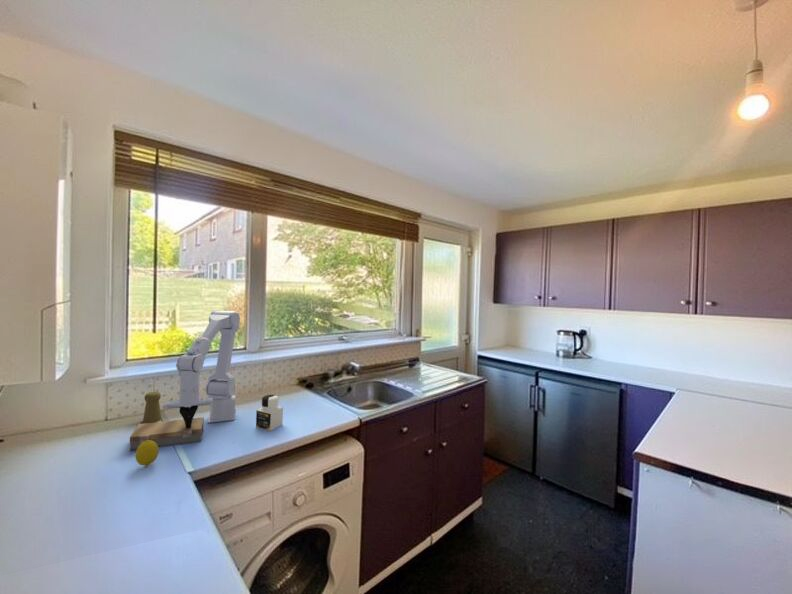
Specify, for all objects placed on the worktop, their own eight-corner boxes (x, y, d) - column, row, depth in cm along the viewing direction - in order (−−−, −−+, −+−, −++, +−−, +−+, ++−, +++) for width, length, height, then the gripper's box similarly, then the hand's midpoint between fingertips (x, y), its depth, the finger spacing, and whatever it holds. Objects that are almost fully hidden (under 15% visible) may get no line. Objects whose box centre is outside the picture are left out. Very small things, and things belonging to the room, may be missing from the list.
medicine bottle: (255, 427, 131) (256, 397, 131) (268, 421, 138) (269, 392, 137) (269, 431, 129) (270, 400, 128) (282, 424, 135) (283, 395, 135)
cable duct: (203, 429, 127) (203, 422, 127) (200, 441, 118) (200, 433, 118) (138, 437, 119) (138, 429, 119) (129, 451, 110) (130, 442, 110)
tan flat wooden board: (203, 422, 127) (203, 417, 127) (200, 435, 117) (200, 429, 117) (138, 429, 119) (138, 424, 119) (129, 444, 109) (129, 438, 109)
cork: (165, 417, 136) (165, 390, 136) (153, 423, 130) (153, 395, 130) (151, 416, 137) (152, 389, 137) (138, 422, 131) (139, 394, 131)
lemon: (133, 472, 98) (133, 445, 98) (137, 463, 103) (138, 437, 103) (156, 468, 101) (157, 442, 100) (159, 459, 106) (160, 434, 105)
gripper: (162, 394, 111) (161, 434, 112) (212, 390, 117) (211, 428, 118) (166, 388, 118) (165, 426, 118) (213, 384, 124) (212, 421, 124)
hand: (188, 427), depth 119 cm, fingers closed, pressing on tan flat wooden board
